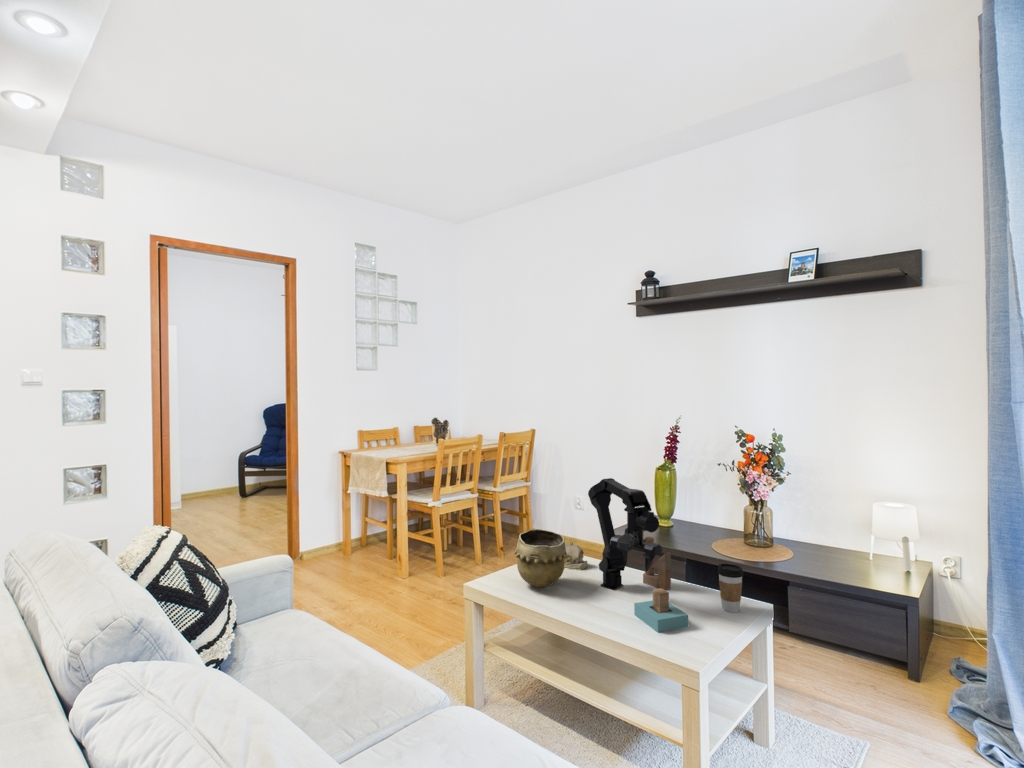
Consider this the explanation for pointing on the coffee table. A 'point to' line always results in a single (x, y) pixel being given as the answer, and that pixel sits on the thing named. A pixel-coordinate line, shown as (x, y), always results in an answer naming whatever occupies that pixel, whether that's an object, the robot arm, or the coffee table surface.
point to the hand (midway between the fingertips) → (635, 568)
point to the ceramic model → (574, 557)
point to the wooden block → (659, 570)
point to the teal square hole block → (661, 617)
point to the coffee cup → (730, 586)
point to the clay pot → (540, 557)
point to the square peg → (660, 600)
